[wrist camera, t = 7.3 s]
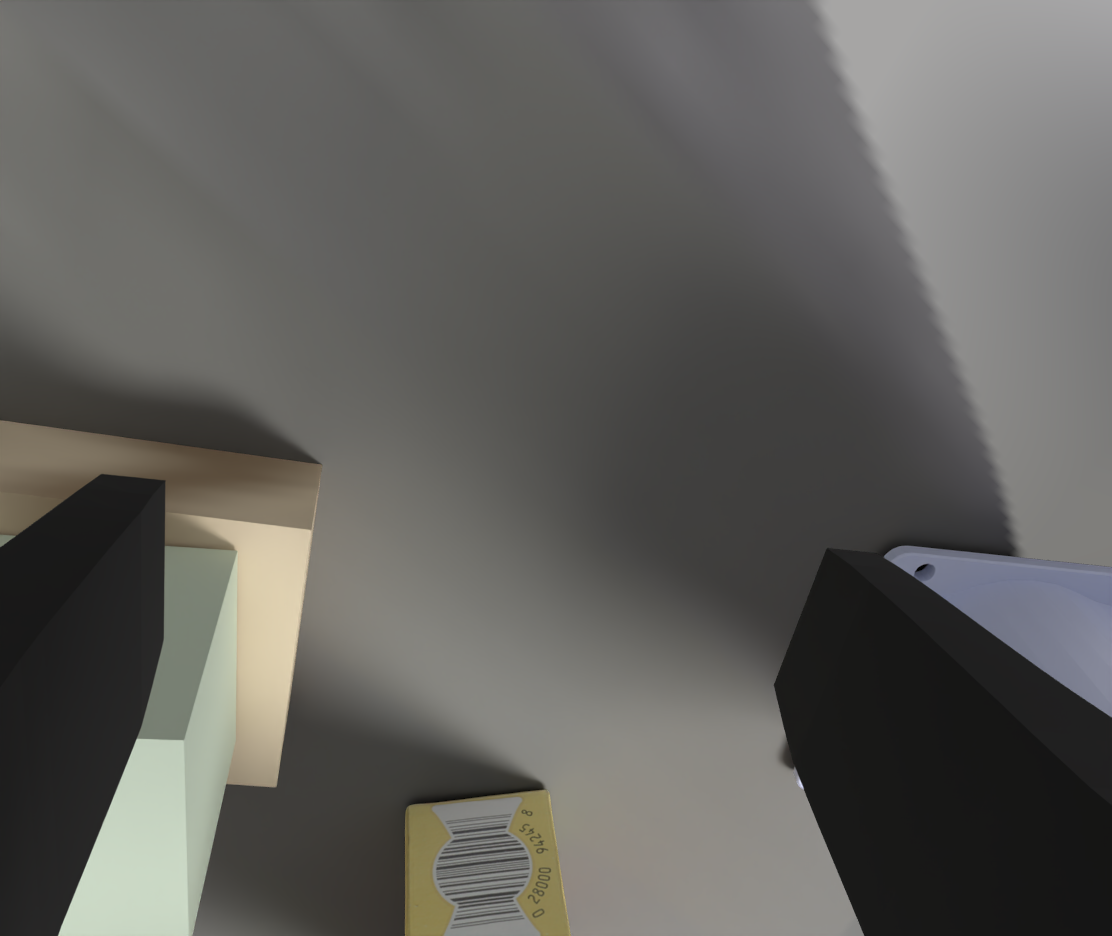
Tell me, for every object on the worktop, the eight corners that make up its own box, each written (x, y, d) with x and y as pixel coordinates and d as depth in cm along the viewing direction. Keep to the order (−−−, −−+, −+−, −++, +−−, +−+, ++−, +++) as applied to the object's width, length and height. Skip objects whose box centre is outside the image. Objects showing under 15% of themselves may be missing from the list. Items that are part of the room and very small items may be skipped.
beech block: (323, 455, 22) (311, 529, 20) (290, 696, 25) (276, 787, 23) (-24, 406, 21) (-88, 480, 18) (-13, 668, 24) (-65, 763, 21)
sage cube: (237, 550, 19) (184, 739, 15) (235, 740, 22) (189, 950, 18) (-44, 532, 19) (-186, 727, 14) (-14, 731, 21) (-127, 950, 17)
